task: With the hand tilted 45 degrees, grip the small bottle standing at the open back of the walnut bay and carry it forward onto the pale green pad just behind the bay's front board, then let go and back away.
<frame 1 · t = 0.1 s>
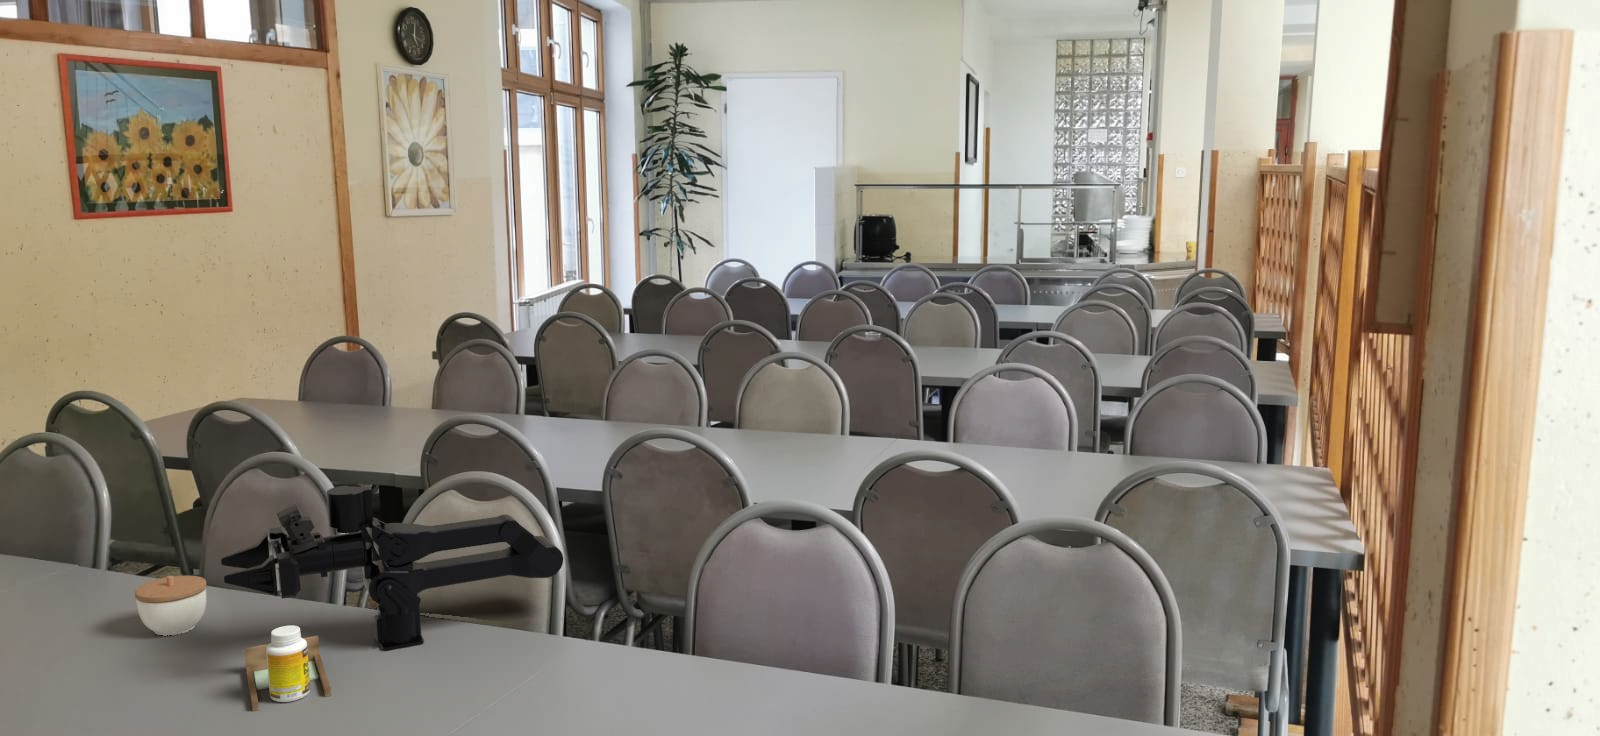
hand: (222, 570, 179), 17 cm above the table, tool horizontal, fingers open, 9 cm apart
lidded jar: (175, 630, 199), on the table
bay: (287, 683, 177), on the table
supplement bottle: (290, 696, 173), on the table
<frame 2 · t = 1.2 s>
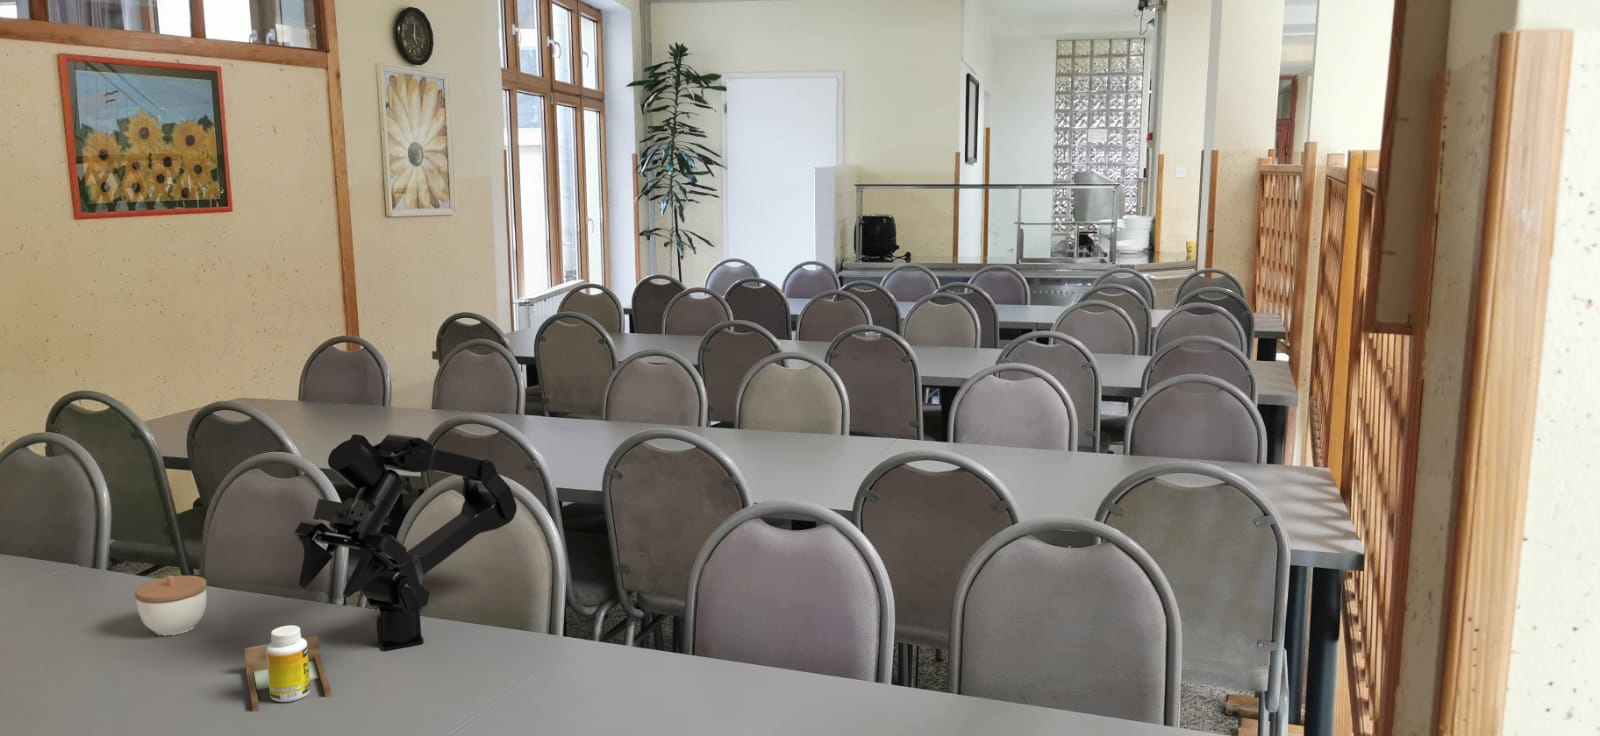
hand: (323, 591, 178), 14 cm above the table, tool tilted 45°, fingers open, 9 cm apart
nothing on the table moved.
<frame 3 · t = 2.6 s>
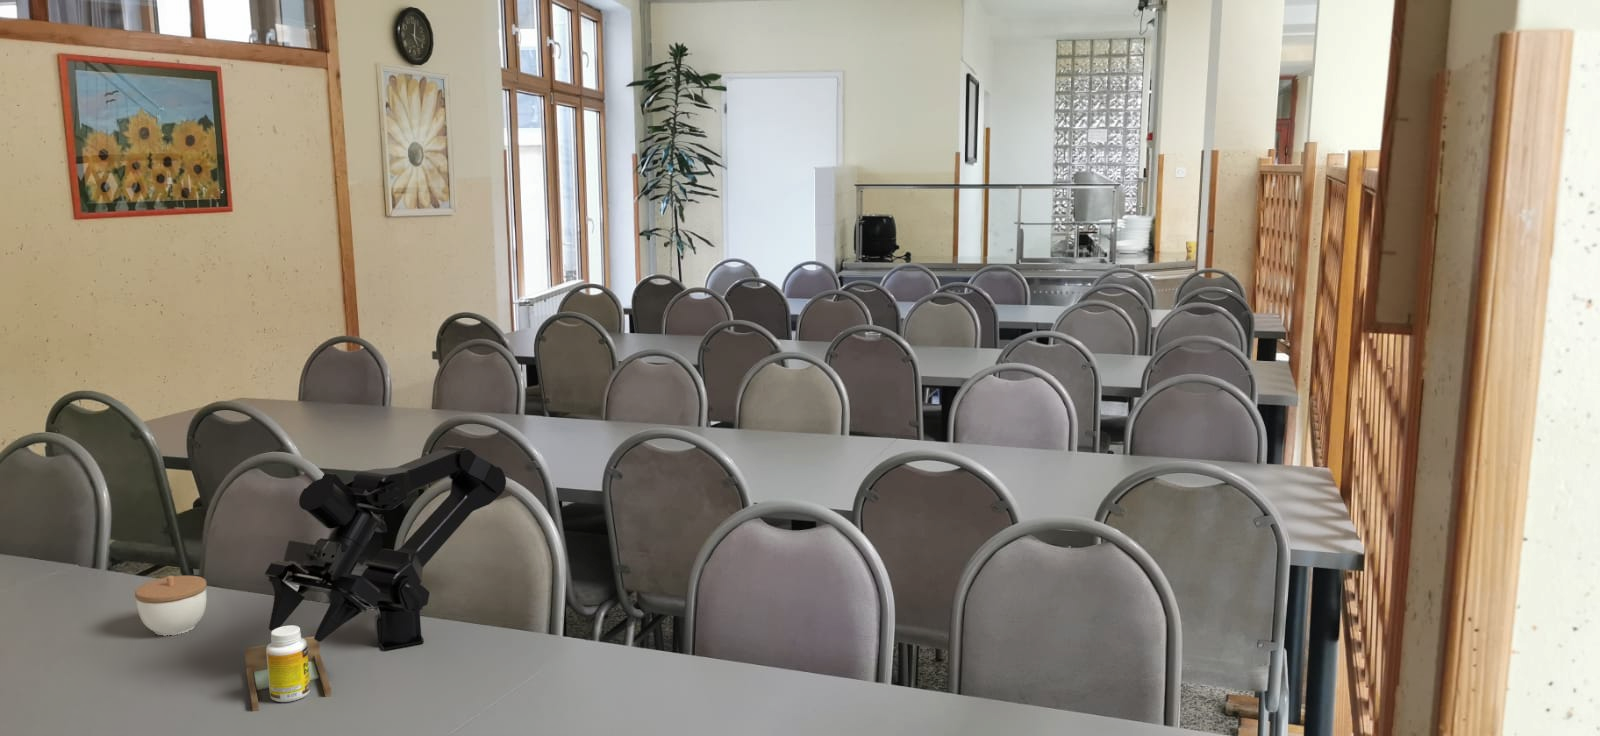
hand: (293, 635, 173), 9 cm above the table, tool tilted 45°, fingers open, 9 cm apart
nothing on the table moved.
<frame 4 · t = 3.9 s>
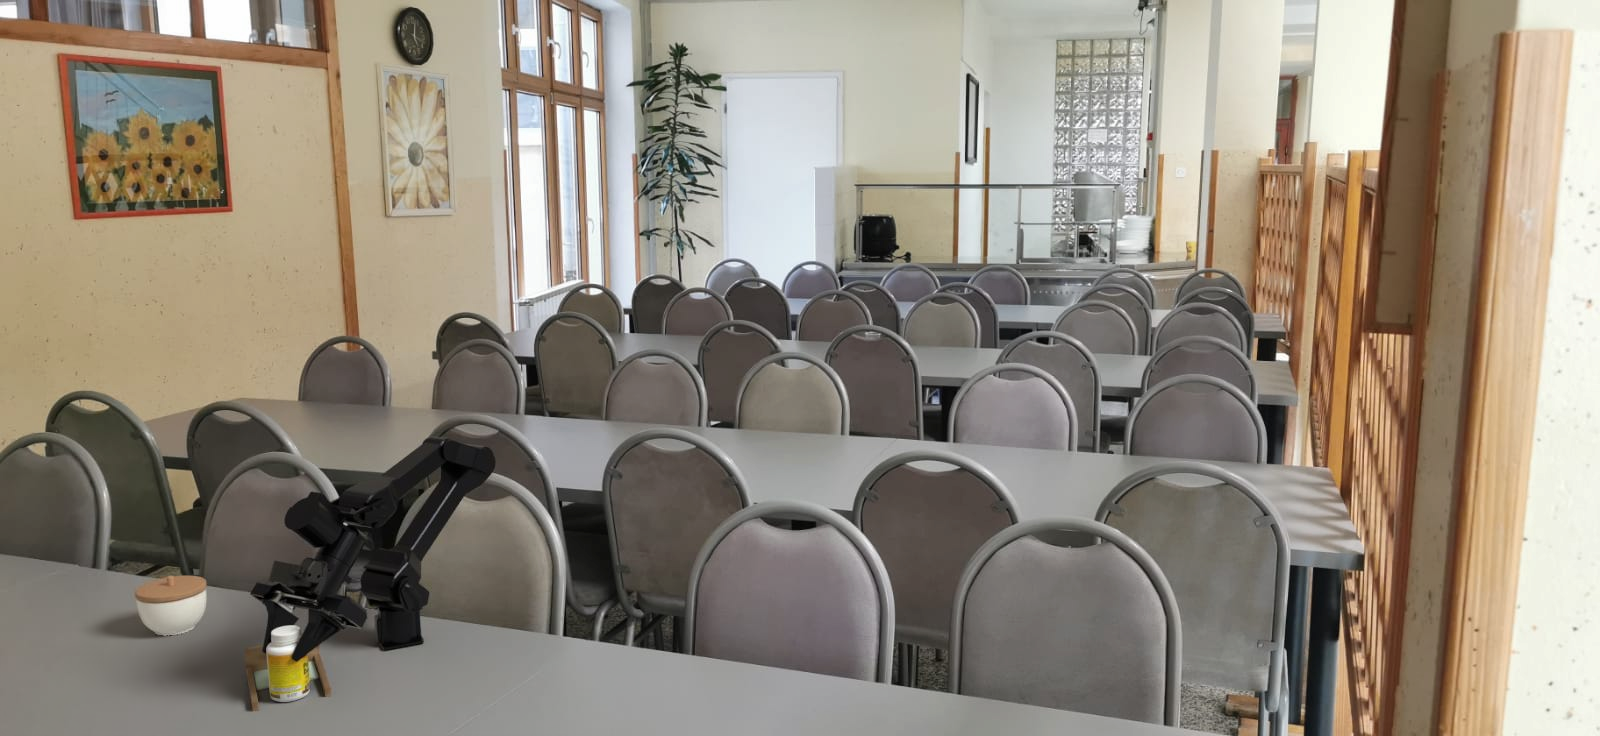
hand: (279, 656, 171), 7 cm above the table, tool tilted 45°, fingers closed on supplement bottle, 6 cm apart
supplement bottle: (290, 696, 173), on the table, touching gripper
everything else where it was.
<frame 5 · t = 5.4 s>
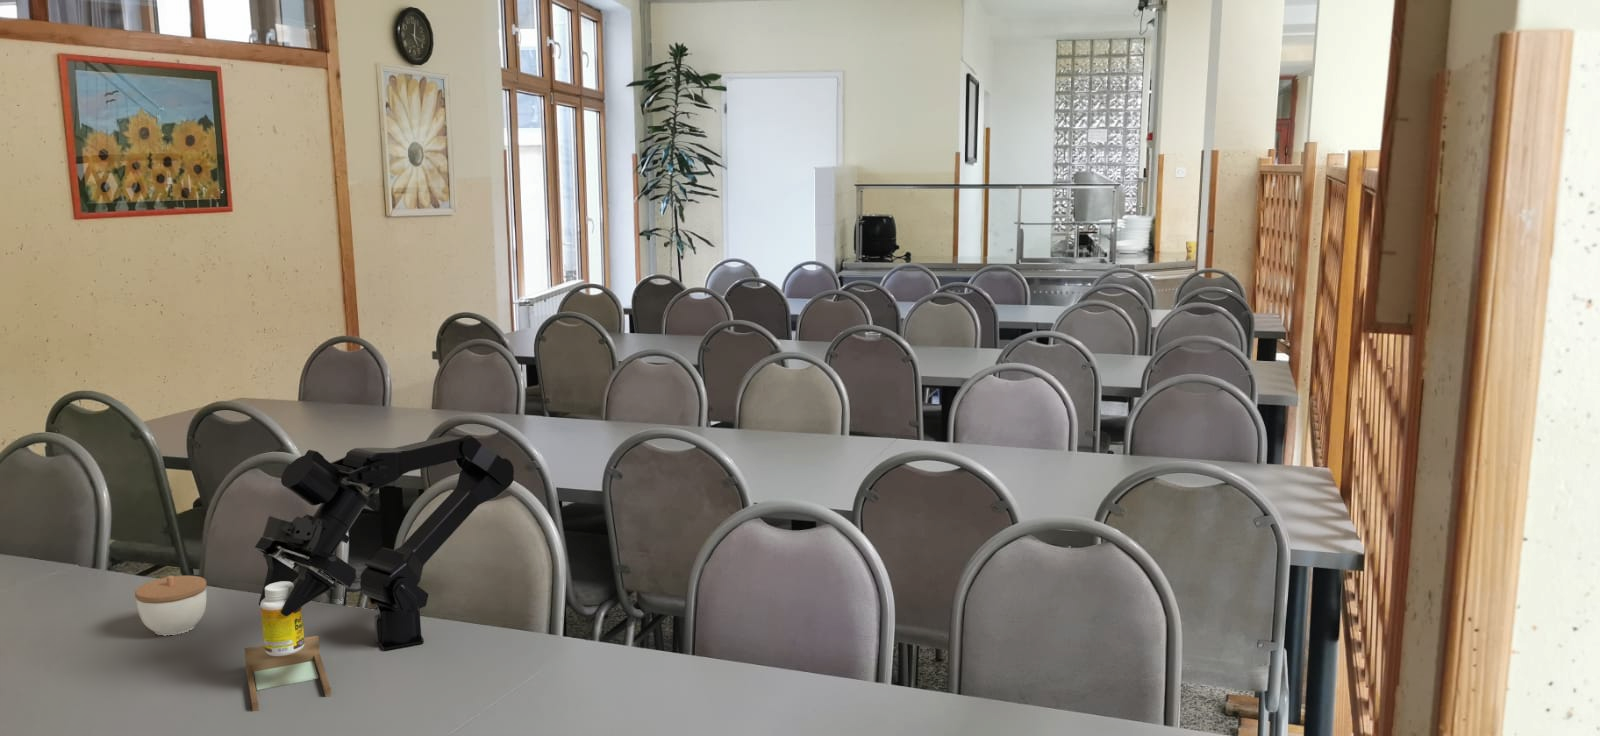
hand: (272, 610, 174), 12 cm above the table, tool tilted 45°, fingers closed on supplement bottle, 6 cm apart
supplement bottle: (285, 651, 176), point 5 cm above the table, touching gripper
everything else where it was.
when the fingers open (8 cm above the table, at t = 6.9 s): supplement bottle stays where it is, resting on bay.
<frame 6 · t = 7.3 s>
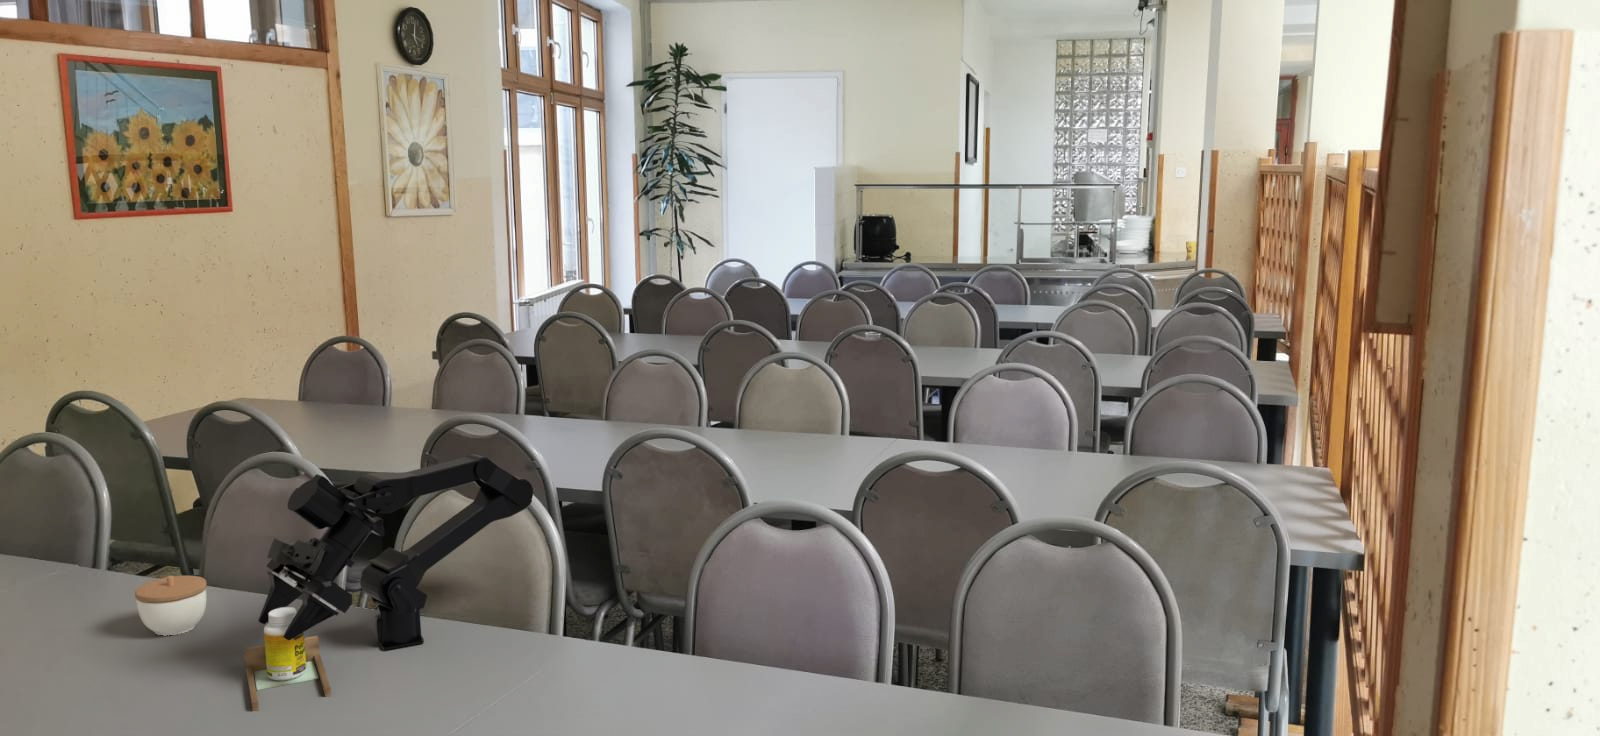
hand: (273, 630, 177), 8 cm above the table, tool tilted 45°, fingers open, 9 cm apart
supplement bottle: (287, 675, 180), resting on bay
everything else where it was.
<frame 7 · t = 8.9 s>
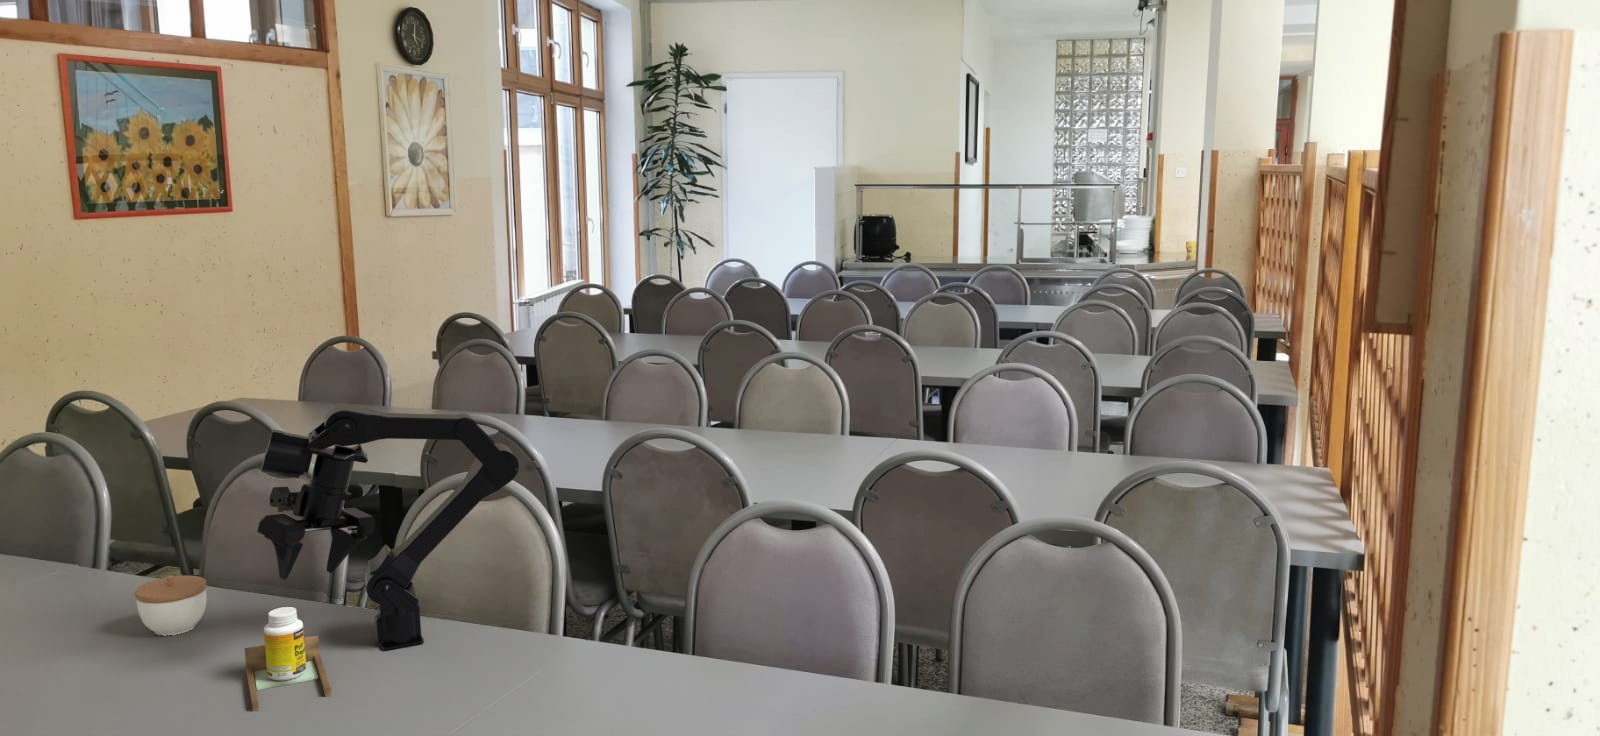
hand: (306, 575, 187), 13 cm above the table, tool tilted 15°, fingers open, 9 cm apart
nothing on the table moved.
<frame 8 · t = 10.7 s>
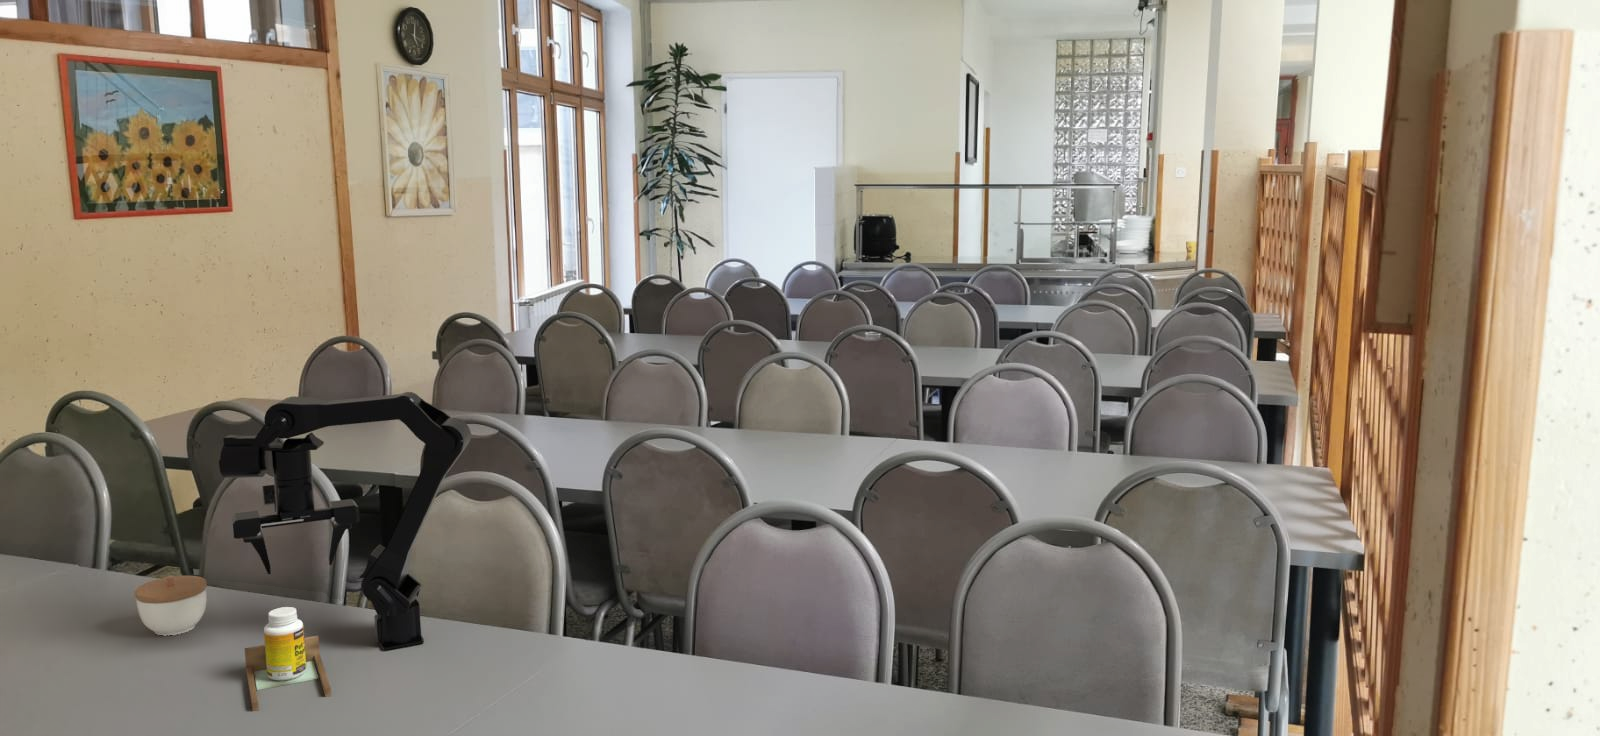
hand: (300, 568, 190), 13 cm above the table, tool pointing down, fingers open, 9 cm apart
nothing on the table moved.
at the end: supplement bottle inside the target area (0.2 cm from its centre), resting on bay; supplement bottle tilted 0°; the gripper is holding nothing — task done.
